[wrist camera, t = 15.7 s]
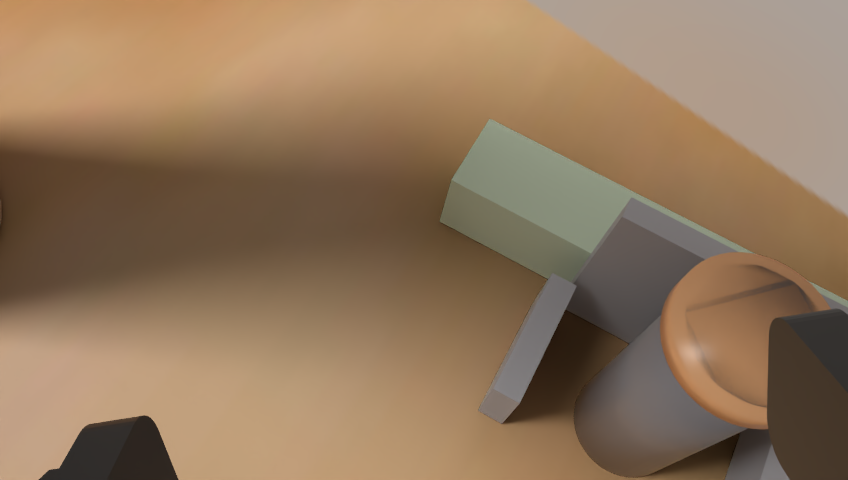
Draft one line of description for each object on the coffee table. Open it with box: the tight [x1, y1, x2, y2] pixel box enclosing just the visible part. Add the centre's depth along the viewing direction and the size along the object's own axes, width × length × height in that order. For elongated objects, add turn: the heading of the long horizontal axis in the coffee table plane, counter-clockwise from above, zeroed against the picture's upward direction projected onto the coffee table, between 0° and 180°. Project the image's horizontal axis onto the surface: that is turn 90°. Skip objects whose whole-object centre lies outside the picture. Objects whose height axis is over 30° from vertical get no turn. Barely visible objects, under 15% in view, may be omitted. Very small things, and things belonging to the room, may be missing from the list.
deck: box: [440, 119, 848, 480], centre depth 32 cm, size 24×12×9 cm, turn 62°
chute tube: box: [574, 252, 831, 477], centre depth 30 cm, size 6×6×12 cm
